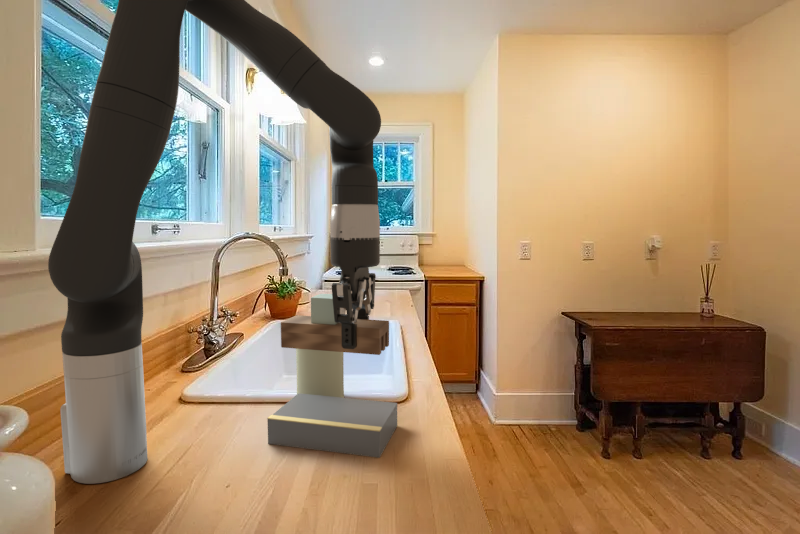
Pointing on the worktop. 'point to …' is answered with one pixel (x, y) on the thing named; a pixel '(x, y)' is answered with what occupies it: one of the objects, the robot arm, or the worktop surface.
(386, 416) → the dock
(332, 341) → the board
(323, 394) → the can
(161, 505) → the worktop surface
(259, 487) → the worktop surface
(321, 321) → the pale green cube
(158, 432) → the worktop surface
